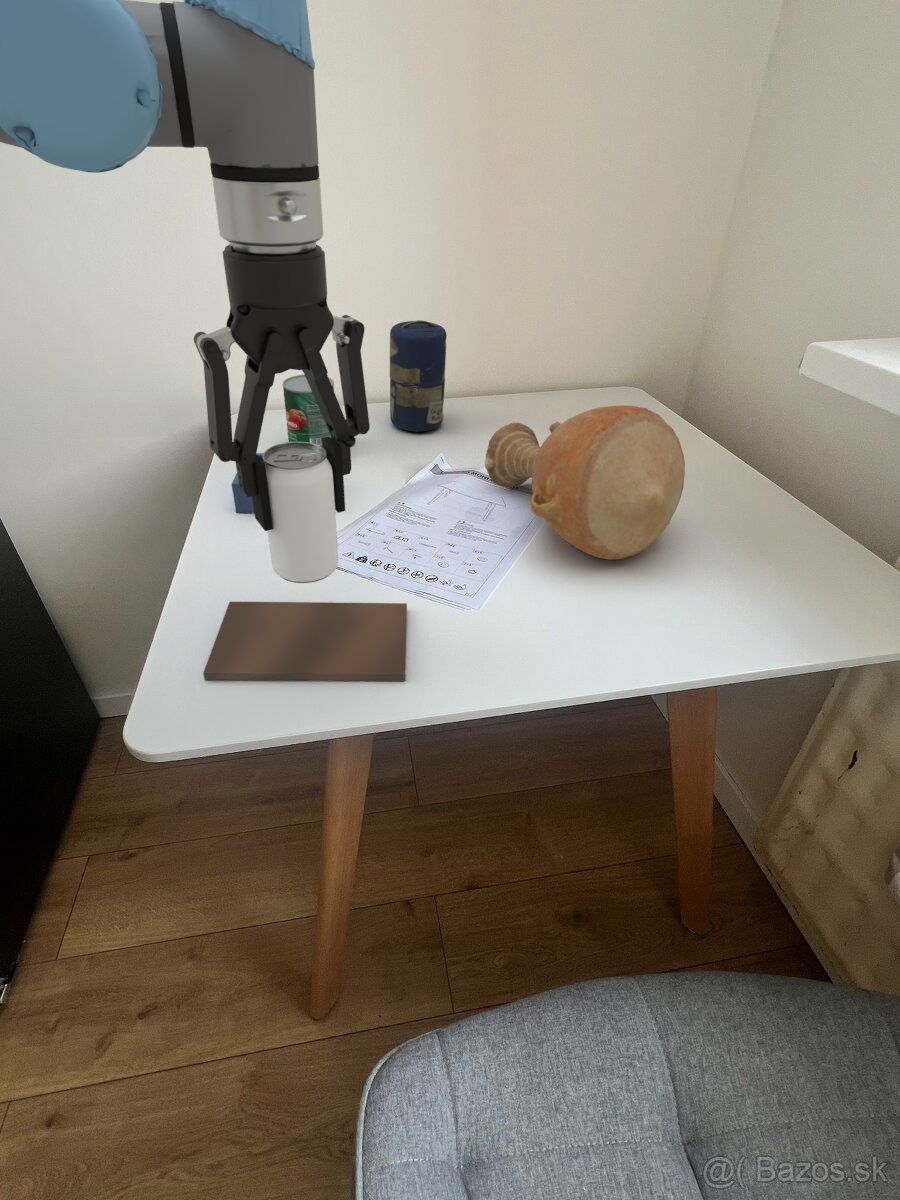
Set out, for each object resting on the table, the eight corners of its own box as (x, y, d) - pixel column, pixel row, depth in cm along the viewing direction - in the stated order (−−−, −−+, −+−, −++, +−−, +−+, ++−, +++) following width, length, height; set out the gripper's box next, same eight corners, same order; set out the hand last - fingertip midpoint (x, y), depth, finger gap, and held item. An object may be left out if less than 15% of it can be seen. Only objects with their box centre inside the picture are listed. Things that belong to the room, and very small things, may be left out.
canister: (389, 415, 128) (388, 312, 117) (440, 414, 129) (444, 312, 118) (391, 435, 120) (390, 327, 110) (446, 435, 121) (450, 328, 111)
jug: (579, 519, 75) (427, 449, 96) (637, 607, 88) (493, 528, 109) (694, 382, 76) (519, 343, 98) (734, 489, 89) (572, 434, 111)
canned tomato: (278, 449, 114) (271, 383, 107) (312, 434, 119) (306, 370, 113) (315, 463, 111) (309, 395, 104) (347, 446, 116) (344, 381, 109)
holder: (236, 513, 97) (231, 483, 94) (250, 480, 105) (246, 452, 102) (308, 514, 97) (306, 485, 95) (317, 481, 105) (314, 454, 103)
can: (336, 585, 67) (328, 470, 60) (268, 585, 66) (252, 470, 59) (340, 549, 72) (333, 439, 65) (277, 549, 72) (263, 439, 64)
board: (204, 680, 70) (203, 672, 69) (230, 608, 79) (229, 601, 79) (405, 681, 71) (405, 674, 70) (406, 610, 80) (406, 603, 80)
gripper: (150, 262, 45) (209, 560, 59) (411, 244, 54) (410, 508, 68) (125, 242, 50) (185, 521, 64) (367, 229, 59) (374, 477, 73)
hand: (300, 514), depth 66 cm, fingers closed on can, 6 cm apart
